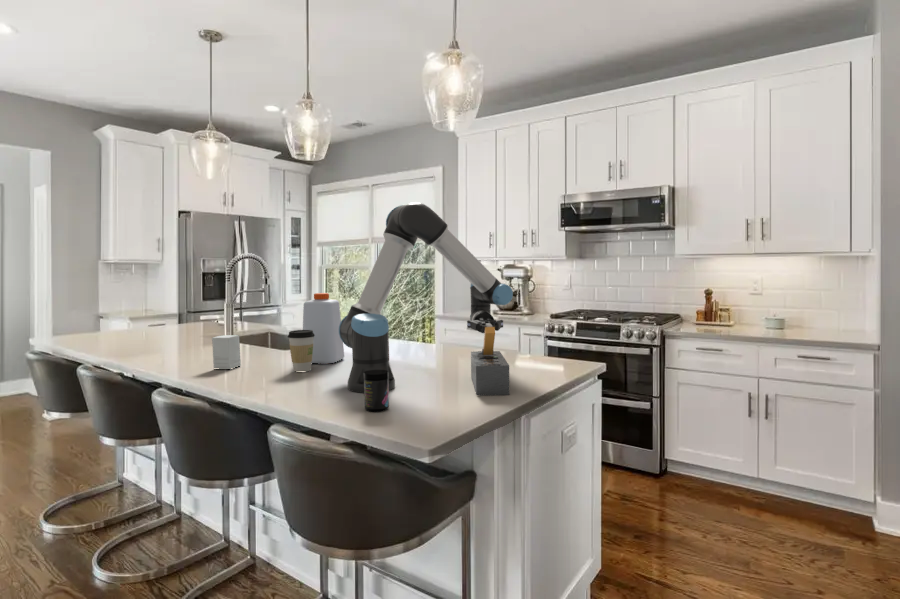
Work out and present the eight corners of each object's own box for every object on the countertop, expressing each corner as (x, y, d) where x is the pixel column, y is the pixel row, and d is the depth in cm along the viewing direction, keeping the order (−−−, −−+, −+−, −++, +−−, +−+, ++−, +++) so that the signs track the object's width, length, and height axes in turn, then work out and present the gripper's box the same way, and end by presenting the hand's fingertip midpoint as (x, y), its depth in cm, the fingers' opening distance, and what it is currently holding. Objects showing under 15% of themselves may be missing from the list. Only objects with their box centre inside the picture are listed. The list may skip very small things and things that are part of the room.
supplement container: (381, 413, 145) (380, 375, 144) (359, 411, 148) (358, 373, 147) (393, 407, 151) (392, 370, 151) (372, 405, 154) (371, 368, 153)
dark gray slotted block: (468, 369, 203) (468, 344, 203) (495, 368, 203) (495, 343, 203) (476, 395, 163) (476, 364, 163) (509, 394, 164) (509, 364, 163)
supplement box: (241, 366, 214) (240, 335, 213) (229, 370, 207) (228, 337, 206) (225, 366, 215) (223, 334, 215) (212, 369, 208) (211, 337, 207)
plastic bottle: (347, 358, 230) (345, 292, 228) (333, 365, 215) (331, 294, 213) (313, 357, 232) (311, 292, 230) (297, 364, 218) (295, 294, 216)
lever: (481, 350, 180) (484, 327, 170) (492, 350, 180) (495, 326, 170) (482, 356, 179) (484, 333, 169) (493, 356, 179) (496, 333, 169)
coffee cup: (321, 369, 206) (320, 330, 205) (301, 374, 197) (300, 333, 196) (303, 367, 211) (302, 329, 210) (283, 371, 203) (281, 332, 202)
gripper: (501, 331, 197) (510, 341, 174) (465, 332, 197) (469, 341, 174) (500, 310, 197) (510, 317, 173) (465, 311, 197) (469, 318, 173)
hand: (490, 329), depth 174 cm, fingers closed
